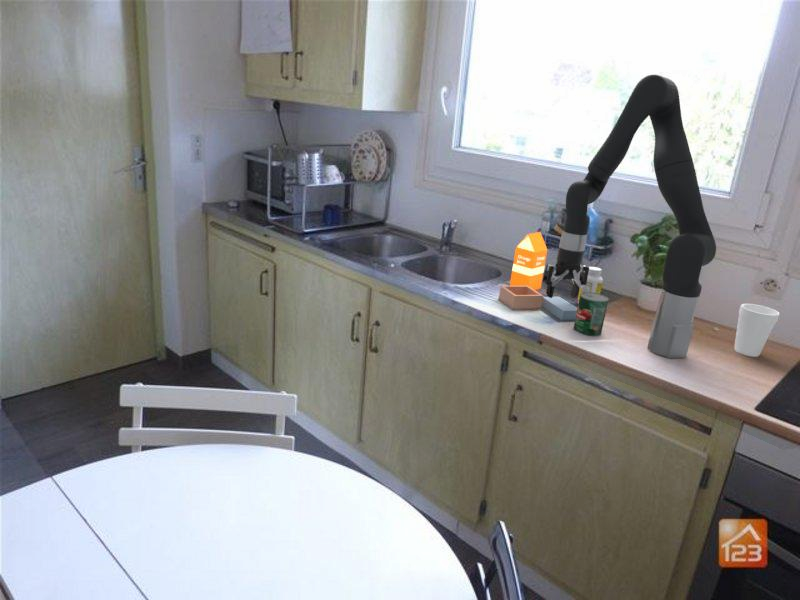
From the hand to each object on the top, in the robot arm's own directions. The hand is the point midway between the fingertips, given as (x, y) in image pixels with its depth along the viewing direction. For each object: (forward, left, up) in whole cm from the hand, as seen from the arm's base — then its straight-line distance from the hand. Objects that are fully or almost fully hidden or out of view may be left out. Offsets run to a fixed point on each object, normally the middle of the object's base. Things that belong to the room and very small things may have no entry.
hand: (561, 297), depth 178 cm
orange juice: (+26, -2, -6) cm, 26 cm away
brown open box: (+8, +10, -5) cm, 14 cm away
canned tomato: (-15, 0, -6) cm, 16 cm away
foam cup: (-33, -41, -6) cm, 53 cm away
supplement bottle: (+7, -15, -6) cm, 17 cm away
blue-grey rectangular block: (0, 0, -5) cm, 5 cm away
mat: (0, 0, -5) cm, 5 cm away
